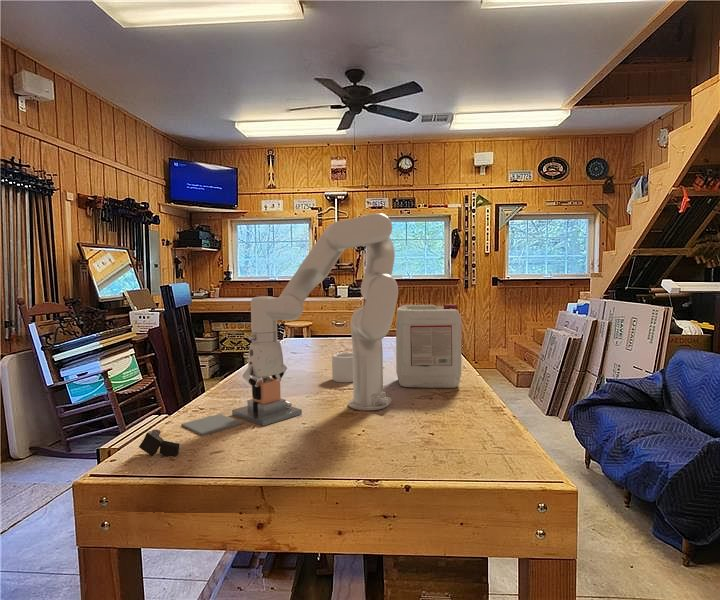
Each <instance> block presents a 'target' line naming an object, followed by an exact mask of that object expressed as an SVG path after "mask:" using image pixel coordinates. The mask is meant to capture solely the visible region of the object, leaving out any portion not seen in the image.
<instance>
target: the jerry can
mask: <svg viewBox="0 0 720 600" xmlns="http://www.w3.org/2000/svg"><path fill="white" fill-rule="evenodd" d="M395 322H396V323H395V340H396V342H395V345H396V346H395V350H396V351H395V357H396V358H395V359H396V363H395V367H396V376H397V380H398V383H399V385H400V387H404V388H418V389H419V388H420V389H421V388H422V389H423V388H424V389H425V388H428V389H429V388H430V389H431V388H432V389H455V388H457V387H458V386H459V385H460V381H461V377H462V331H463V330H462V329H463V328H462V324H463V323H462V316H461V314H460V312H459V310H458V304H454V303H453V304H452V303H447V304H446V303H445V304H444V305H443V306H437V305H435V304H402V305H401V306H399V307H398V308H397V310H396V321H395Z"/></svg>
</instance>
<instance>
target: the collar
mask: <svg viewBox="0 0 720 600" xmlns="http://www.w3.org/2000/svg"><path fill="white" fill-rule="evenodd" d="M259 386H260V387H261V399H260V400H257V399H254V398H253V394H252V393H251V395H252V396H251V397H252V398H251V399H252V400H253V401H256V402H259V403H262V404H266V403H270V402H274V401H277V400H281V398H282V397H281V381H280V380H278V379H274V378H272V377H270V381H269V382H262V378H261V380H260V383H259Z"/></svg>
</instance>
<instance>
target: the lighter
mask: <svg viewBox="0 0 720 600" xmlns="http://www.w3.org/2000/svg"><path fill="white" fill-rule="evenodd" d="M160 435H161V431H160V430H159V429H152V430H149V431H148V432H146V433H145V436H144V437H143V440H142V441H141V443H140V445H139V446H138V448H139V449H141V450H142V451H144V452H145V453H146V454H148V455H149V456H151V457H153V455H154V454H155V455H156V454H157V452H159V454H161V455H162V456H164V457H168V456H174V457H176V456H178V455H179V450H180V443H177V442H173V441H168V440H164V439H163V437H161V436H160ZM155 455H154V456H155Z"/></svg>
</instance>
